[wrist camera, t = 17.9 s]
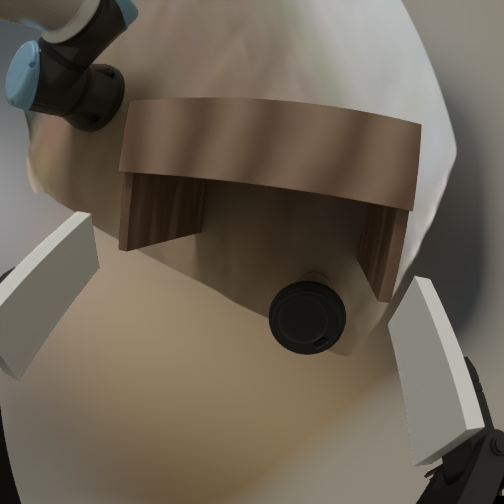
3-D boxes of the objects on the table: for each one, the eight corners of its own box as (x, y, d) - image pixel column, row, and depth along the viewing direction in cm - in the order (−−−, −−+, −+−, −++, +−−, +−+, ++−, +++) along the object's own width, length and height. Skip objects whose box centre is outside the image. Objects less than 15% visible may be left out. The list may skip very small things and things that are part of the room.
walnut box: (194, 231, 52) (111, 251, 31) (206, 137, 49) (129, 101, 28) (364, 261, 46) (392, 307, 25) (380, 158, 43) (421, 124, 22)
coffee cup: (325, 325, 49) (323, 371, 35) (274, 301, 50) (253, 339, 36) (351, 275, 47) (361, 306, 32) (298, 250, 48) (286, 271, 34)
